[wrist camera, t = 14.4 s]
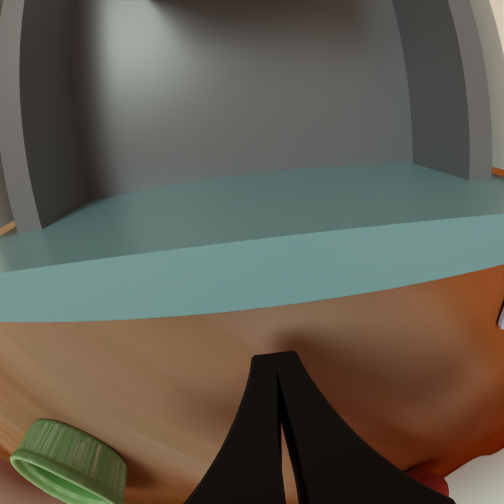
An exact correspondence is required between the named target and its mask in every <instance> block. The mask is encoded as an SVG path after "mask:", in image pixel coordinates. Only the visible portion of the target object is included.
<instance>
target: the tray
mask: <svg viewBox="0 0 504 504" xmlns="http://www.w3.org/2000/svg"><path fill="white" fill-rule="evenodd" d="M0 152H1V159H2V166H3V172H4V177H5V182H6V187H7V192H8V197H9V201H10V206H11V210H12V214H13V218H14V221H15V225H16V227H14V228H13V229H11V230H9V231H8V232H6V233H4V234H3V235H1V236H0V321H1V322H72V321H104V320H126V319H143V318H159V317H172V316H185V315H197V314H208V313H219V312H228V311H238V310H247V309H256V308H265V307H273V306H281V305H288V304H296V303H303V302H311V301H317V300H324V299H331V298H338V297H344V296H350V295H356V294H362V293H368V292H374V291H380V290H385V289H391V288H396V287H402V286H407V285H412V284H417V283H422V282H427V281H432V280H437V279H442V278H446V277H451V276H456V275H460V274H464V273H469V272H473V271H477V270H482V269H486V268H490V267H494V266H498V265H502V264H504V177H503V176H500V175H496V174H493V173H491V171H492V130H491V112H490V100H489V90H488V82H487V75H486V69H485V62H484V57H483V52H482V47H481V42H480V37H479V33H478V29H477V25H476V21H475V18H474V14H473V11H472V7H471V4H470V1H469V0H3V4H2V10H1V16H0Z"/></svg>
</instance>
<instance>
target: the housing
mask: <svg viewBox="0 0 504 504" xmlns="http://www.w3.org/2000/svg"><path fill="white" fill-rule="evenodd" d="M469 1H470V4H471V7H472V11H473V14H474V18H475V21H476V25H477V29H478V33H479V37H480V42H481V47H482V52H483V57H484V62H485V69H486V75H487V82H488V90H489V100H490V112H491V130H492V166H493V167H496V168H500V169H503V170H504V0H469ZM2 4H3V0H0V16H1V10H2ZM12 221H14V218H13V214H12V210H11V206H10V201H9V197H8V192H7V187H6V182H5V177H4V172H3V166H2V159H1V152H0V228H1V227H3V226H5V225H6V224H8V223H10V222H12Z"/></svg>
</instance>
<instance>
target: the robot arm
mask: <svg viewBox="0 0 504 504" xmlns="http://www.w3.org/2000/svg"><path fill="white" fill-rule="evenodd" d="M498 326H499V327H500V328H501V329H502V330H504V307H503V310H502V313H501V316H500V319H499V322H498ZM281 423H282V427H283V431H284V436H285V440H286V444H287V448H288V452H289V456H290V460H291V464H292V468H293V472H294V477H295V482H296V488H297V495H298V503H299V504H456V503H455V502H454V500H453V499H452V498H450V497H448V496H446V495H443V494H441V493H439V492H437V491H435V490H433V489H431V488H429V487H428V486H426V485H424V484H422V483H420V482H419V481H417V480H416V479H414V478H412V477H411V476H409V475H407V474H406V473H404V472H403V471H402V470H400V469H399V468H397V467H396V466H395V465H393V464H392V463H391V462H389V461H388V460H386V459H385V458H384V457H382V456H381V455H380V454H379V453H377V452H376V451H375V450H374V449H373V448H372V447H370V446H369V445H368V444H367V443H366V442H365V441H364V440H363V439H362V438H361V437H359V436H358V435H357V434H356V433H355V432H354V431H353V430H352V429H351V428H350V427H349V426H348V424H347V423H346V422H345V421H344V420H343V419H342V418H341V417H340V416H339V414H338V413H337V412H336V411H335V410H334V409H333V407H332V406H331V405H330V404H329V403H328V401H327V400H326V399H325V397H324V396H323V395H322V393H321V392H320V391H319V389H318V388H317V386H316V385H315V384H314V382H313V381H312V379H311V378H310V376H309V374H308V373H307V371H306V370H305V368H304V366H303V364H302V363H301V361H300V359H299V357H298V354H297V353H296V352H295V351H287V352H279V353H271V354H263V355H254V356H253V357H252V358H251V367H250V373H249V377H248V381H247V385H246V389H245V392H244V395H243V398H242V401H241V404H240V407H239V409H238V412H237V414H236V417H235V419H234V421H233V424H232V426H231V428H230V431H229V433H228V435H227V437H226V439H225V441H224V443H223V445H222V447H221V449H220V451H219V452H218V454H217V456H216V458H215V460H214V461H213V463H212V464H211V466H210V468H209V469H208V471H207V472H206V474H205V475H204V477H203V478H202V480H201V481H200V483H199V484H198V486H197V487H196V488H195V490H194V491H193V492H192V494H191V495H190V496H189V497H188V499H187V500H186V501H185V502H184V503H183V504H286V499H285V491H284V483H283V475H282V447H281Z"/></svg>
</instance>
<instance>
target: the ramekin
mask: <svg viewBox="0 0 504 504" xmlns="http://www.w3.org/2000/svg"><path fill="white" fill-rule="evenodd" d="M10 461H11V464H12V465H13V466H14V468H15V469H16V470H17V471H18V472H19V473H20V474H21V475H22V476H24V477H25V478H26V479H27V480H29V481H30V482H32V484H34V485H35V486H37V487H39V488H40V489H42V490H43V491H45V492H47V493H48V494H50V495H52V496H54V497H55V498H58V499H59V500H61V501H63V502H66V503H68V504H124V494H125V485H126V477H127V466H126V464H125V462H124V461H123V459H122V458H121V457H120V456H119V455H118V454H117V453H116V452H115V451H114V450H112V449H111V448H110V447H109V446H107V445H106V444H104V443H103V442H101V441H100V440H98V439H96V438H94V437H93V436H91V435H89V434H87V433H85V432H83V431H81V430H79V429H77V428H75V427H72V426H70V425H67V424H64V423H61V422H58V421H54V420H48V419H41V420H37V421H35V422H34V423H33V424H32V426H31V427H30V429H29V431H28V432H27V434H26V436H25V437H24V439H23V441H22V443H21V444H20V446H19V448H18V449H17V450H16V451H14V452H13V454H12V455H11V457H10Z"/></svg>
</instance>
